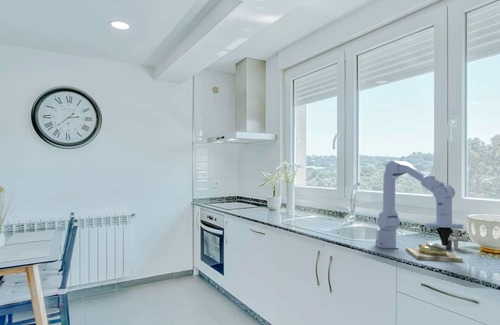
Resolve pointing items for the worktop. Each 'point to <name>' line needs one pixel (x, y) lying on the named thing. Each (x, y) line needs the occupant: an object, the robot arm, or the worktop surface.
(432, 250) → the crank handle
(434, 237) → the worktop surface
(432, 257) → the beige flat board
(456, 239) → the pipe connector
